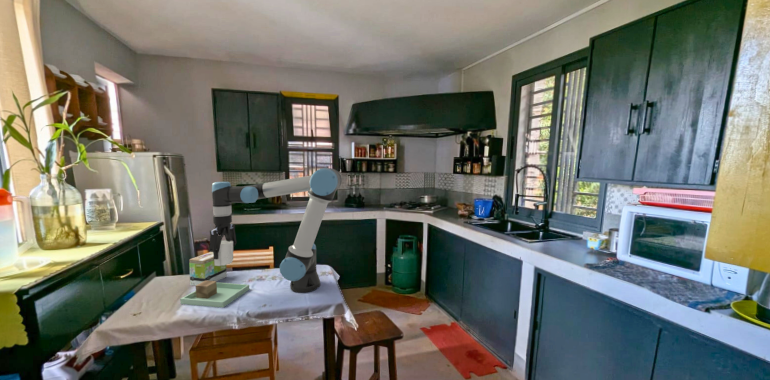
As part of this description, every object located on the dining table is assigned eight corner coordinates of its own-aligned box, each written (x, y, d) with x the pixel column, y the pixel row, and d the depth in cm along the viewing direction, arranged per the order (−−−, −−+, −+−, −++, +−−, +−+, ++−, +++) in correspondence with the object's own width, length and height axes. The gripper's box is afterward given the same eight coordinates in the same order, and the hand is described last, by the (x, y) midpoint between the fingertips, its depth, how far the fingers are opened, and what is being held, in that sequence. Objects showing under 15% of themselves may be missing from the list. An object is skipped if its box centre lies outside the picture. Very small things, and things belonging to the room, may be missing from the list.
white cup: (228, 259, 138) (228, 239, 138) (237, 262, 134) (236, 242, 133) (211, 263, 132) (210, 242, 131) (219, 267, 128) (218, 245, 127)
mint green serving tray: (249, 290, 143) (249, 284, 143) (223, 308, 125) (222, 302, 124) (211, 287, 146) (211, 282, 146) (180, 305, 128) (180, 298, 128)
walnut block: (217, 293, 139) (216, 281, 138) (207, 298, 133) (206, 286, 132) (206, 292, 140) (205, 280, 139) (196, 297, 134) (195, 285, 133)
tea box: (206, 288, 146) (204, 260, 144) (189, 286, 148) (187, 259, 146) (227, 276, 160) (226, 251, 159) (212, 275, 162) (211, 250, 161)
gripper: (230, 211, 142) (231, 255, 144) (197, 218, 121) (199, 269, 123) (243, 211, 140) (245, 256, 142) (213, 219, 120) (215, 271, 122)
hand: (224, 262), depth 133 cm, fingers closed on white cup, 8 cm apart
